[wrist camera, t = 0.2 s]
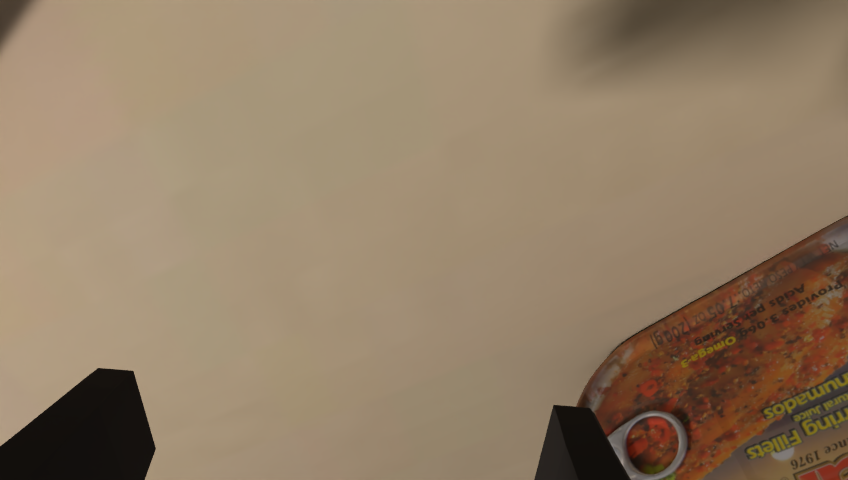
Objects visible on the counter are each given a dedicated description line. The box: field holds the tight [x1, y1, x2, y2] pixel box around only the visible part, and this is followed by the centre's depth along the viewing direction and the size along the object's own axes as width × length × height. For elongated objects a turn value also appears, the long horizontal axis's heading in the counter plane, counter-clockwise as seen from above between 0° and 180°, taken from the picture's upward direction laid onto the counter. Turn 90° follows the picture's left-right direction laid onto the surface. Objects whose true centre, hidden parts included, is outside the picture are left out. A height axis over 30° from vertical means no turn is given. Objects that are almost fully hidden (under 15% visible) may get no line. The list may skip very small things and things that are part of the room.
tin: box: [576, 216, 848, 480], centre depth 18 cm, size 15×3×8 cm, turn 133°
